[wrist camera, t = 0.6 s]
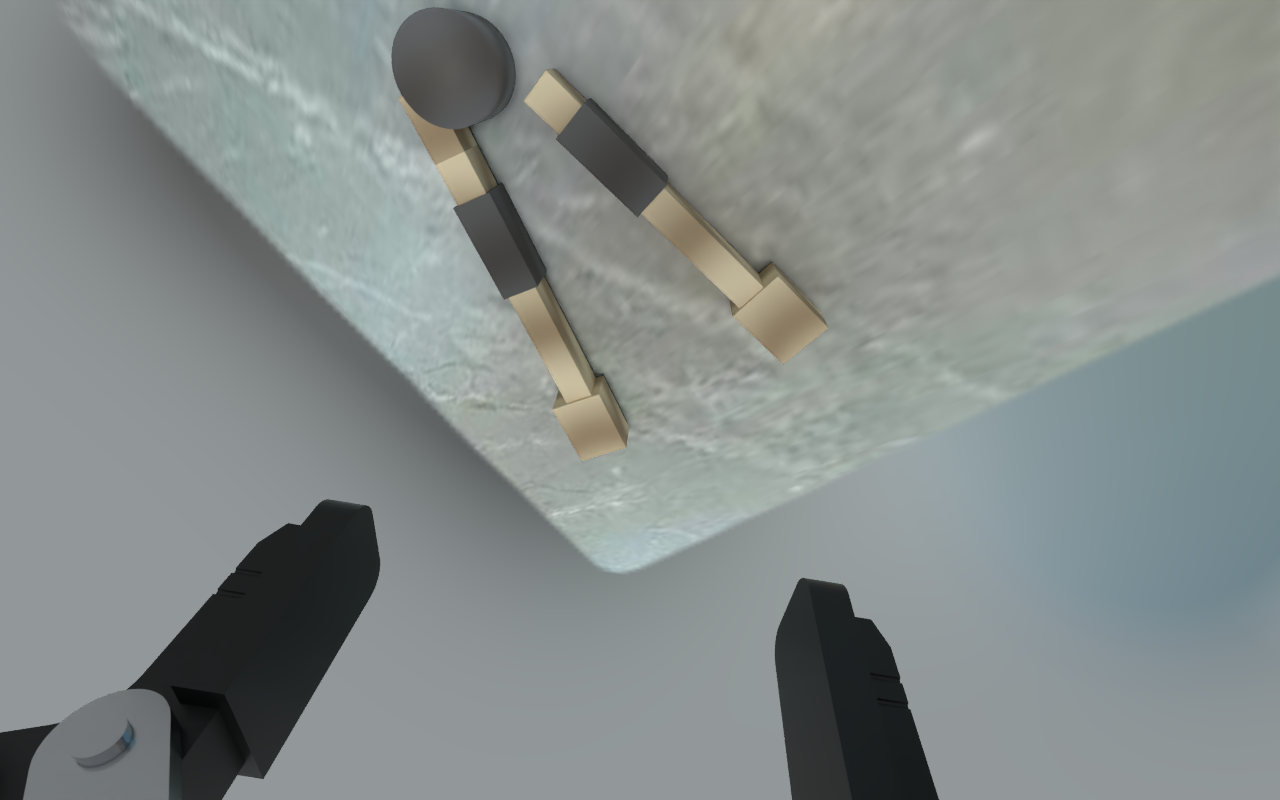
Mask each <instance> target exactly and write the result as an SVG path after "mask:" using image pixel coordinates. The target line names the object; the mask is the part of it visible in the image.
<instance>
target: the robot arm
mask: <svg viewBox="0 0 1280 800" xmlns="http://www.w3.org/2000/svg"><path fill="white" fill-rule="evenodd" d="M379 571H380V557H379V552H378V545H377V538H376V532H375V526H374V520H373V514H372V510H371V508H370V507H369V506H366V505H360V504H353V503H348V502H341V501H335V500H329V499H327V500H324V501H322V502H321V503H319V504H318V506H316V508H315V509H314V510H313V511H312V512H311V514H310V515H309V516H308V517H307V519H306V520H305V521H304V522H303V523H302V525H295V524H289V523H288V524H286V525H285V526H283V527H282V528H280V529H278V530H277V531H275V532H274V533H272V534H271V535H269V536H268V537H266V538H265V539H263V540H262V541H260V542H259V543H257V544H256V546H255V547H254V548H253V549H252V550H251V551H250V552H249V554H248V555H247V556H246V557H245V558H244V559H243V560H242V562H241V563H240V564H239V565H238V566H237V568H236V571H235V573H231V574H230V576H228V578H227V579H226V580H225V581H224V582H223V583H222V585H221V586H220V587H219V588H218V592H217V593H216V594H213V595H212V596H211V597H210V598H209V599H208V600H207V602H206V603H205V604H204V605H203V606H202V607H201V609H200V610H199V611H198V612H197V613H196V614H195V615H194V617H193V618H192V619H191V620H190V621H189V622H188V623H187V625H186V626H185V627H184V628H183V629H182V630H181V631H180V633H179V634H178V635H177V636H176V637H175V638H174V639H173V641H172V642H171V643H170V644H169V645H168V646H167V648H166V649H165V650H164V651H163V652H162V653H161V654H160V656H159V657H158V658H157V659H156V660H155V661H154V662H153V664H152V665H151V666H150V667H149V668H148V669H147V670H146V671H145V673H144V674H143V675H142V676H141V677H140V678H139V679H138V680H137V681H136V682H135V683H134V684H133V685H132V686H130V687H129V688H128V689H127V690H123V691H118V692H115V693H112V694H108V695H106V696H103V697H101V698H98V699H96V700H94V701H92V702H90V703H88V704H86V705H84V706H83V707H81V708H80V709H78V710H76V711H75V712H73V713H72V714H71V715H69V716H68V717H67V718H65V719H64V720H63V721H62V722H61V723H57V724H52V725H47V726H40V727H34V728H27V729H21V730H14V731H8V732H2V733H0V800H222V798H223V797H224V795H225V794H226V792H227V790H228V789H229V787H230V786H231V784H232V783H233V780H234V779H235V778H236V776H237V775H242V776H248V777H254V778H260V779H264V776H265V775H266V774H267V772H268V770H269V769H270V767H271V765H272V763H273V761H274V760H275V758H276V757H277V755H278V753H279V752H280V750H281V748H282V746H283V745H284V743H285V741H286V740H287V738H288V736H289V735H290V733H291V731H292V729H293V728H294V726H295V724H296V723H297V721H298V719H299V717H300V715H301V714H302V712H303V710H304V709H305V707H306V706H307V704H308V702H309V700H310V699H311V697H312V695H313V694H314V692H315V690H316V688H317V687H318V685H319V683H320V682H321V680H322V678H323V677H324V675H325V673H326V672H327V670H328V668H329V666H330V665H331V663H332V661H333V660H334V658H335V656H336V655H337V653H338V651H339V649H340V648H341V646H342V644H343V643H344V641H345V639H346V637H347V636H348V634H349V632H350V631H351V629H352V627H353V626H354V624H355V622H356V621H357V619H358V617H359V615H360V614H361V612H362V610H363V609H364V607H365V605H366V604H367V602H368V600H369V598H370V597H371V595H372V593H373V590H374V588H375V586H376V583H377V580H378V576H379ZM775 664H776V672H777V681H778V688H779V697H780V705H781V713H782V721H783V728H784V737H785V745H786V753H787V761H788V770H789V777H790V785H791V794H792V800H939V799H938V795H937V792H936V789H935V786H934V783H933V780H932V776H931V774H930V770H929V767H928V764H927V761H926V757H925V754H924V751H923V748H922V745H921V742H920V739H919V735H918V732H917V729H916V726H915V723H914V720H913V716H912V713H911V710H910V709H908V700H907V697H906V694H905V691H904V688H903V685H902V684H901V683H900V675H899V672H898V669H897V666H896V663H895V659H894V656H893V653H892V650H891V647H890V646H889V644H888V643H887V641H885V639H884V637H883V636H882V634H881V633H880V632H879V630H878V629H877V627H876V626H875V624H874V623H873V622H872V620H870V619H864V618H858V617H855V616H854V612H853V609H852V605H851V601H850V598H849V594H848V591H847V589H846V588H845V586H844V585H842V584H837V583H830V582H825V581H819V580H813V579H806V578H801V579H800V580H799V582H798V584H797V585H796V588H795V590H794V593H793V595H792V597H791V599H790V602H789V604H788V607H787V609H786V611H785V613H784V616H783V618H782V620H781V623H780V625H779V628H778V631H777V636H776V643H775Z"/></svg>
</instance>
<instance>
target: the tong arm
mask: <svg viewBox="0 0 1280 800" xmlns="http://www.w3.org/2000/svg"><path fill="white" fill-rule="evenodd" d="M524 102H525V103H526V104H527V105H528V106H529V107H530V108H531V109H533V110H534V111H535V112H536V113H537V114H538V115H539V116H540V117H541V118H542V119H543V120H544V121H545V122H546V123H547V124H548V125H549V126H550V127H551V128H552V129H553V130H554V131H555V132H556V133H558V134H559V136H558V137H557V138H556V140H557V141H558V142H559V143H560V144H561V145H563V146H564V147H565V148H566V149H567V150H568V151H569V152H570V153H571V154H572V155H573V156H574V157H575V158H576V159H577V160H578V161H579V162H580V163H581V164H582V165H583V166H585V167H586V168H587V169H588V170H589V171H590V172H591V173H592V174H593V175H594V176H595V177H596V178H597V179H598V180H599V181H600V182H601V183H602V184H603V185H604V186H605V187H606V188H608V189H609V190H610V191H611V192H612V193H613V194H614V195H615V196H616V197H617V198H618V199H619V200H620V201H621V202H622V203H623V204H624V205H625V206H626V207H627V208H628V209H630V210H631V211H632V212H633V213H634V214H635V215H636V216H637V217H638V216H639V215H640V214H642V215H643V216H644V217H645V218H646V219H647V220H648V221H649V222H650V223H651V224H652V225H653V226H654V227H655V228H656V229H657V230H658V231H660V232H661V233H662V234H663V235H664V236H665V237H666V238H667V239H668V240H669V241H670V242H671V243H672V244H673V245H674V246H675V247H676V248H677V249H678V250H679V251H680V252H681V253H682V254H683V255H685V256H686V257H687V258H688V259H689V260H690V261H691V262H692V263H693V264H694V265H695V266H696V267H697V268H698V269H699V270H700V271H701V272H702V273H703V274H704V275H705V276H706V277H707V278H708V279H710V280H711V281H712V282H713V283H714V284H715V285H716V286H717V287H718V288H719V289H720V290H721V291H722V292H723V293H724V294H725V295H726V296H727V297H728V298H729V299H730V304H731V309H732V315H733V317H734V318H735V319H736V320H737V321H738V322H739V323H740V324H741V325H742V326H743V327H744V328H745V329H747V330H748V331H749V332H750V333H751V334H752V335H753V336H754V337H755V338H756V339H757V340H758V341H759V342H760V343H761V344H762V345H763V346H764V347H765V348H767V349H768V350H769V351H770V352H771V353H772V354H773V355H774V356H775V357H776V358H777V359H778V360H779V361H780V362H781V363H782V364H784V363H786V362H787V361H788V360H789V359H791V358H792V357H793V356H794V355H796V354H797V353H798V352H799V351H801V350H802V349H803V348H804V347H806V346H807V345H808V344H809V343H811V342H812V341H813V340H814V339H816V338H817V337H818V336H819V335H821V334H822V333H823V332H824V331H826V330H827V329H828V326H827V324H826V322H825V320H824V318H823V316H822V314H821V312H820V311H819V310H818V309H817V308H816V307H815V306H814V305H813V304H812V303H811V302H810V301H809V300H808V299H807V298H806V297H805V296H804V294H803V293H802V292H801V291H800V290H799V289H798V288H797V287H796V286H795V285H794V284H793V283H792V282H791V281H790V280H789V279H788V278H787V277H786V276H785V275H784V274H783V273H782V272H781V271H780V270H779V269H778V268H777V267H776V266H775V265H774V264H773V263H770V264H769V265H768V266H767V267H766V268H765V269H764V270H763V271H762V272H761V273H759V274H758V273H757V272H756V271H755V269H754V268H753V267H752V266H751V265H750V264H749V263H748V262H747V261H746V260H745V259H744V258H743V257H742V256H741V255H740V254H739V253H738V252H737V251H736V250H735V249H734V248H733V247H732V246H731V245H730V244H729V243H728V242H727V241H726V240H725V239H724V238H723V237H722V236H721V235H720V234H719V233H718V232H717V231H716V230H715V229H714V228H713V227H712V226H711V225H710V224H709V223H708V222H707V221H706V220H705V219H704V218H703V217H702V216H701V215H700V214H699V213H698V212H697V211H696V210H695V209H694V208H693V207H692V206H691V205H690V204H689V203H688V202H687V201H686V200H685V199H684V198H683V197H682V196H681V195H680V194H679V193H678V192H677V191H676V190H675V189H674V188H673V187H672V186H671V185H670V184H669V183H668V182H667V178H668V175H667V174H666V173H665V172H664V171H663V170H662V169H661V168H660V167H659V166H658V165H657V164H656V163H655V162H654V161H653V160H652V159H651V158H650V157H649V156H648V155H647V154H646V153H645V152H644V151H643V150H642V149H641V148H640V147H639V146H638V145H637V144H636V143H635V142H634V141H633V140H632V139H631V138H630V137H629V136H628V135H627V134H626V133H625V132H624V131H623V130H622V129H621V128H620V127H619V126H618V125H617V124H616V123H615V122H614V121H613V120H612V119H611V118H610V117H609V116H608V115H607V114H606V113H605V112H604V111H603V110H602V109H601V108H600V107H599V106H598V105H597V104H596V103H595V102H594V101H593V100H592V99H589V100H588V101H586V100H585V99H584V98H583V97H582V96H581V95H580V94H579V93H578V92H577V91H576V90H575V89H574V88H573V87H572V86H571V85H570V84H569V83H568V82H567V81H566V80H565V79H564V78H563V77H562V76H561V75H560V74H559V73H558V71H557V70H556V69H550V70H546V71H545V72H544V74H543V75H542V76H541V78H540V79H539V81H538V82H537V83H536V85H535V86H534V87H533V89H532V90H531V92H530V93H529V94H528V96H527V97H526V99H525V100H524Z"/></svg>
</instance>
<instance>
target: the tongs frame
mask: <svg viewBox="0 0 1280 800" xmlns="http://www.w3.org/2000/svg"><path fill="white" fill-rule="evenodd" d="M392 68H393V73H394V77H395V81H396V83H397V86H398V88H399V90H400V92H401V94H402V96H401V97H400V98H399V100H400V102H401V104H402V105H403V107H404V109H405V111H406V113H407V115H408V116H409V118H410V120H411V122H412V124H413V125H414V127H415V129H416V131H417V133H418V135H419V136H420V138H421V140H422V142H423V144H424V145H425V147H426V149H427V151H428V153H429V154H430V156H431V158H432V160H433V162H434V164H435V165H436V167H437V169H438V171H439V173H440V174H441V176H442V178H443V180H444V182H445V184H446V185H447V187H448V189H449V191H450V193H451V194H452V196H453V198H454V200H455V202H456V203H457V206H456V207H455V208H453V209H454V210H455V212H456V214H457V216H458V218H459V219H460V221H461V223H462V225H463V227H464V228H465V230H466V232H467V234H468V236H469V237H470V239H471V241H472V243H473V245H474V246H475V248H476V250H477V252H478V254H479V255H480V257H481V259H482V261H483V263H484V264H485V266H486V268H487V270H488V272H489V273H490V275H491V277H492V279H493V281H494V282H495V284H496V286H497V288H498V290H499V291H500V293H501V295H502V297H503V299H507V298H509V300H510V301H511V303H512V305H513V307H514V309H515V311H516V312H517V314H518V316H519V318H520V320H521V321H522V323H523V325H524V327H525V329H526V331H527V332H528V334H529V336H530V338H531V340H532V341H533V343H534V345H535V347H536V349H537V351H538V352H539V354H540V356H541V358H542V360H543V361H544V363H545V365H546V367H547V369H548V370H549V372H550V374H551V376H552V378H553V380H554V381H555V383H556V385H557V387H558V389H559V392H558V395H557V398H556V400H555V403H554V406H553V409H552V410H553V412H554V414H555V415H556V417H557V419H558V421H559V422H560V424H561V426H562V428H563V429H564V431H565V433H566V435H567V436H568V438H569V440H570V442H571V443H572V445H573V447H574V449H575V450H576V452H577V454H578V456H579V458H580V459H581V461H583V460H587V459H590V458H593V457H597V456H600V455H604V454H607V453H610V452H614V451H617V450H620V449H624V448H626V446H627V438H628V431H629V426H628V424H627V422H626V420H625V418H624V416H623V414H622V412H621V410H620V408H619V406H618V404H617V402H616V400H615V398H614V396H613V394H612V392H611V390H610V388H609V386H608V384H607V382H606V380H605V378H604V376H601V377H598V378H595V376H594V374H593V372H592V370H591V368H590V366H589V364H588V362H587V360H586V358H585V356H584V354H583V352H582V350H581V348H580V346H579V344H578V342H577V340H576V338H575V336H574V334H573V332H572V330H571V328H570V326H569V324H568V322H567V320H566V318H565V316H564V315H563V313H562V311H561V309H560V307H559V305H558V303H557V301H556V299H555V297H554V295H553V293H552V291H551V289H550V287H549V285H548V283H547V281H546V279H545V277H544V275H545V273H546V272H547V271H546V269H545V267H544V265H543V263H542V261H541V260H540V258H539V256H538V254H537V252H536V250H535V248H534V246H533V244H532V242H531V240H530V238H529V236H528V234H527V232H526V230H525V228H524V226H523V224H522V222H521V220H520V218H519V216H518V214H517V212H516V210H515V208H514V206H513V204H512V202H511V200H510V198H509V196H508V194H507V192H506V190H505V188H504V186H503V184H502V183H500V184H498V185H497V183H496V181H495V179H494V177H493V175H492V173H491V171H490V169H489V167H488V165H487V163H486V161H485V159H484V157H483V155H482V153H481V151H480V149H479V147H478V145H477V143H476V141H475V139H474V137H473V135H472V133H471V131H470V129H469V127H468V126H471V125H474V124H476V123H479V122H481V121H484V120H487V119H489V118H492V117H494V116H495V115H497V114H498V113H499V112H501V111H502V110H503V109H504V108H505V106H506V105H507V103H508V102H509V100H510V98H511V96H512V93H513V90H514V85H515V65H514V60H513V56H512V53H511V50H510V48H509V46H508V44H507V42H506V40H505V39H504V37H503V36H502V34H501V33H500V32H499V31H498V29H497V28H496V27H495V26H494V25H492V24H491V23H490V22H489V21H487V20H486V19H484V18H482V17H481V16H478V15H476V14H473V13H469V12H463V11H457V10H450V9H444V8H426V9H423V10H420V11H417V12H415V13H414V14H412V15H411V16H409V17H408V18H407V19H406V20H405V21H404V22H403V23H402V25H401V26H400V28H399V29H398V31H397V33H396V36H395V39H394V42H393V47H392Z"/></svg>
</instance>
